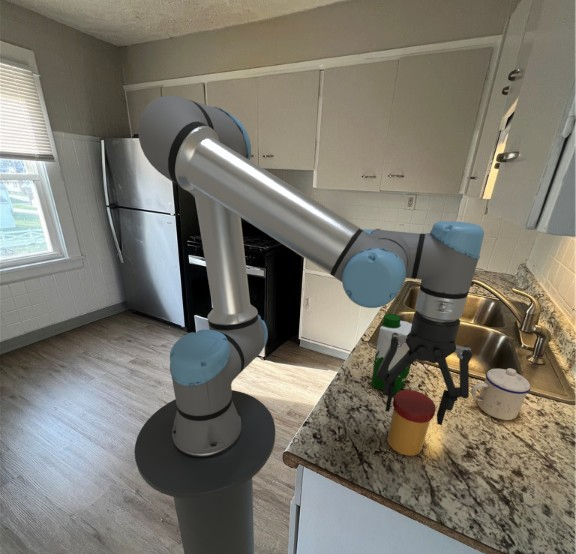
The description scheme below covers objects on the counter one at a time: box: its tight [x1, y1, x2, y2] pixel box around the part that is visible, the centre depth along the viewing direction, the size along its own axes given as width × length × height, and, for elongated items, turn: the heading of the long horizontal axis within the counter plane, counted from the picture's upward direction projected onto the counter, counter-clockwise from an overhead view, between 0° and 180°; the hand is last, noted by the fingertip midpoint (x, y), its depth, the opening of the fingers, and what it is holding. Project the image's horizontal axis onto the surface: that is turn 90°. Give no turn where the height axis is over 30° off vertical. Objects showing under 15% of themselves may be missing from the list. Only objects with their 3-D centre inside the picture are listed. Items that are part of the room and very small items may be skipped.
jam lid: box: [392, 389, 437, 423], centre depth 64 cm, size 8×8×2 cm
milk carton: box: [371, 313, 412, 396], centre depth 82 cm, size 9×9×20 cm
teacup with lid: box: [470, 367, 531, 421], centre depth 76 cm, size 12×9×12 cm
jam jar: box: [386, 409, 431, 457], centre depth 66 cm, size 7×7×11 cm
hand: (412, 413), depth 64 cm, fingers open, 9 cm apart
